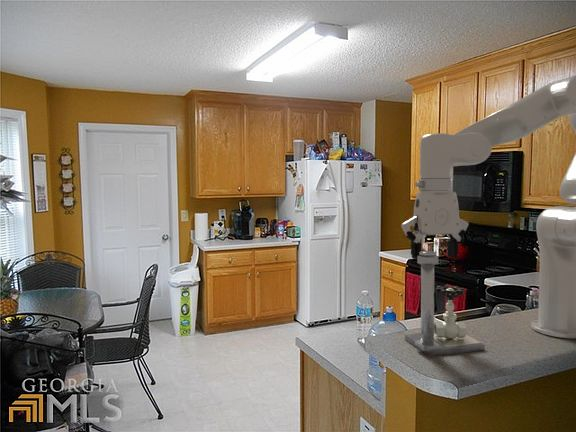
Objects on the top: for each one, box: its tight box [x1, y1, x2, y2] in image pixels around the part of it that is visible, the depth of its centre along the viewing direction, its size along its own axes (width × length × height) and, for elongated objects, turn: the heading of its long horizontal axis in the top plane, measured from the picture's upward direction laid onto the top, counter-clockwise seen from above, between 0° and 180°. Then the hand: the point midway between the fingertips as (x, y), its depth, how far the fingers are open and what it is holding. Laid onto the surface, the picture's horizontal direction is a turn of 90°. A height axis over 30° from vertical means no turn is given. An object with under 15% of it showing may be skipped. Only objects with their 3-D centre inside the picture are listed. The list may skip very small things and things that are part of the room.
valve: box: [434, 284, 467, 339], centre depth 104 cm, size 7×7×12 cm
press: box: [404, 250, 485, 357], centre depth 104 cm, size 15×11×23 cm
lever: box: [416, 247, 439, 266], centre depth 103 cm, size 13×4×2 cm, turn 171°
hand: (434, 258), depth 106 cm, fingers open, 9 cm apart
